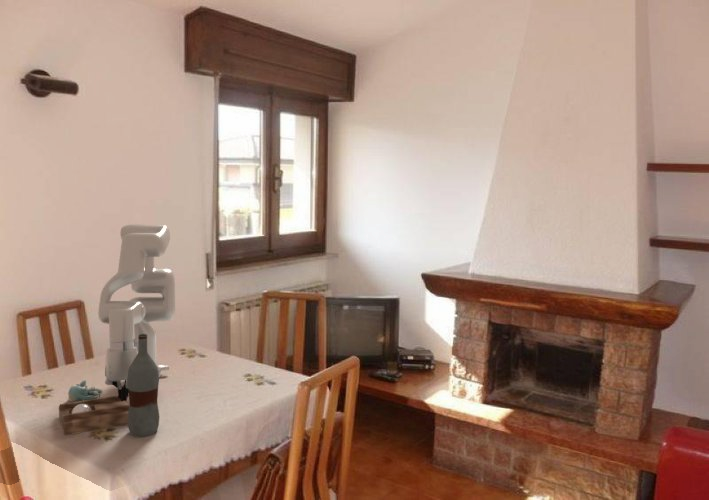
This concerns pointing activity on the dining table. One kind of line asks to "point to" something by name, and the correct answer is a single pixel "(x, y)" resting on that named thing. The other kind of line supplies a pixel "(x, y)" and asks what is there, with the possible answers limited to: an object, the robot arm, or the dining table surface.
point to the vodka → (143, 392)
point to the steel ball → (81, 408)
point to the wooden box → (94, 415)
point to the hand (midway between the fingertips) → (123, 399)
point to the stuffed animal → (83, 392)
